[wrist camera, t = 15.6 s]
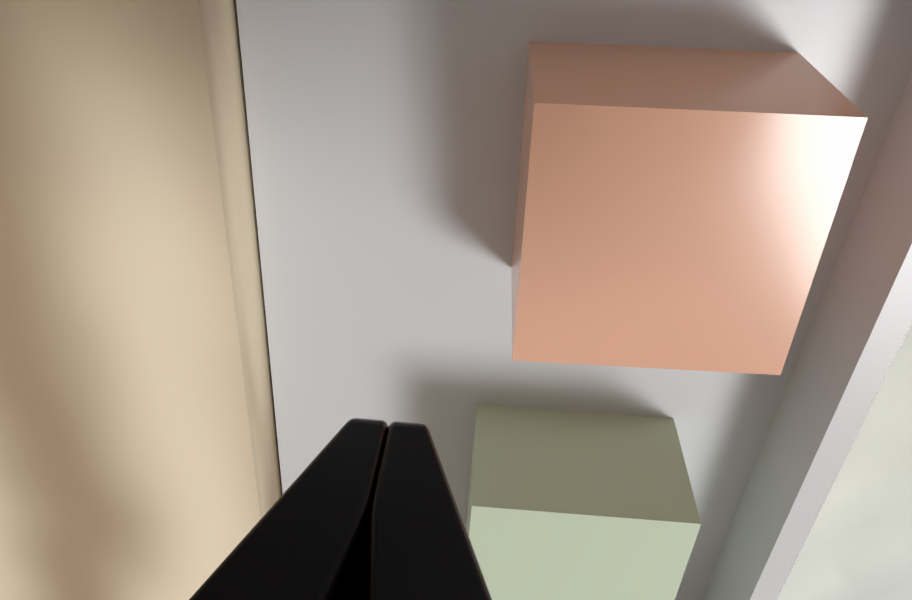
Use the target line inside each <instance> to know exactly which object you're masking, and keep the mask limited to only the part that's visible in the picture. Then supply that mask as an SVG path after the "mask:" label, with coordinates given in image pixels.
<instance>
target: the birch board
mask: <svg viewBox="0 0 912 600" xmlns="http://www.w3.org/2000/svg"><path fill="white" fill-rule="evenodd" d="M282 494H283V492H282V482H281V471H280V461H279V450H278V439H277V429H276V418H275V408H274V397H273V386H272V376H271V365H270V355H269V344H268V333H267V323H266V312H265V302H264V291H263V280H262V270H261V259H260V249H259V238H258V227H257V217H256V206H255V196H254V185H253V174H252V164H251V153H250V143H249V132H248V121H247V111H246V100H245V90H244V79H243V68H242V58H241V47H240V37H239V26H238V15H237V5H236V0H0V600H189V599H190V598H191V597H192V596H193V595H194V593H195V592H196V591H197V590H198V589H199V588H200V587H201V586H202V584H203V583H204V582H205V581H206V580H207V579H208V578H209V577H210V575H211V574H212V573H213V572H214V571H215V570H216V569H217V568H218V566H219V565H220V564H221V563H222V562H223V561H224V560H225V559H226V557H227V556H228V555H229V554H230V553H231V552H232V551H233V550H234V548H235V547H236V546H237V545H238V544H239V543H240V542H241V541H242V539H243V538H244V537H245V536H246V535H247V534H248V533H249V532H250V530H251V529H252V528H253V527H254V526H255V525H256V524H257V523H258V521H259V520H260V519H261V518H262V517H263V516H264V515H265V514H266V512H267V511H268V510H269V509H270V508H271V507H272V506H273V505H274V503H275V502H276V501H277V500H278V499H279V498H280V497H281V496H282Z"/></svg>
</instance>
